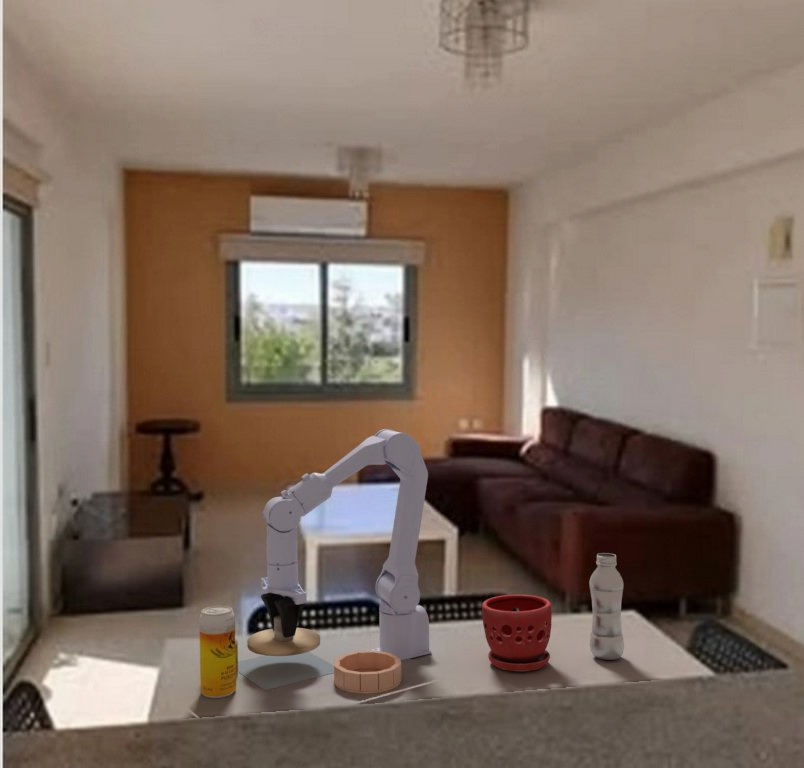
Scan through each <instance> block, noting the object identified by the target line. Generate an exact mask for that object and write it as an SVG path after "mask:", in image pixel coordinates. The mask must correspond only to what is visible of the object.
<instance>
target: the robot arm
mask: <svg viewBox="0 0 804 768" xmlns="http://www.w3.org/2000/svg"><path fill="white" fill-rule="evenodd" d="M421 449H422V447H421V445H420V444H419V443H418V441H416V440H415V439H414V437H412V435H410V434H408V433H406V432H398V431H396V430H393V429H390V428H384V429H381V430H378V432H376V433H375V434H374V435H371V436H369V437H367V438H366V439H365V440H363V441H362V442H361V443H360V444H358V445H357V446H356V447H355V448H353V450H351V451H349V453H347V454H346V455H345V456H343V457H342V458H341V459H339V460H338V461H337V462H336V463H334V464H333V465H331V466H330V467H329V468H328V469H327V470H325V471H324V472H323V473H319V472H312V473H311V474H308V473H305V474H303V475H302V476H301V479H302V480H300V481H299V482H297V483H296V484H295V485H293V486H292V487H291V488H289V489H287V490H286V489H283V490H282V491H281V492H280V495H282V496H276V497H273V498H270V499H269V500H267V503H266V504H265V506H264V508H263V511H262V512H261V513H262V518H263V520H264V521H265V523H267V524H266V535H267V536H266V568H267V570H266V572H267V576H266V577H261V578H260V589H261V591H262V593H263V594H261V595H260V598H261V600H262V602H263V604H264V605H265V607H266V610H267V613H268V617H269V621H270V624H271V629H273V631H274V617H275V616H278V615H280V619H281V626H282V633H283V636H284V637H285V638H287V637H291V636H295V633H296V628H298V622H299V618H300V616H301V613H302V611H303V609H304V607H305V605H306V603H307V592H306V591H304V590H303V587H301V585H300V583H299V565H298V564H299V561H298V559H299V558H298V555H299V554H298V536H297V527H298V526H299V524H300V521H301V518H302V517H305V516H307V515H308V514H309V513H310V512H312V511H313V510H314V509H316V508H317V507H319V506H320V505H322V504H323V503H324V502H326V501H327V500H329V499H330V498H331V496H332V493H333V488H335V487H336V486H337V485H339V484H341V483H342V482H344V481H346V480H347V479H348V478H350V477H352V476H353V475H355V474H356V473H357V472H359V471H361V470H362V469H363V468H365V467H366V466H373V465H374V466H376V465H378V466H379V465H380V466H382V465H386V464H387V465H388V466H390V468H391V469H392V471H393V472H394V473H395V474H396V475H397V476H398V478H399V479H400V480H399V481H400V482H399V487H398V495H397V499H396V508H395V512H394V513H395V514H394V521H393V525H392V526H393V527H392V531H391V532H392V533H391V539H390V546H389V552H388V553H389V554H388V557H387V559H386V560H385V561H384V563H383V564H382V570H381V573H380V574H379V576H378V577H377V579H376V582H375V594H376V595H377V597H378V598H379V599H380V604H379V607H378V609H379V613H378V614H379V647H375V648H372V649H370V651H381V652H388V653H391V654H394V655H396V656H398V657H399V658H400V660H401V661H404V660H408V659H414V658H417V657H421V656H422V657H423V656H425V655H429V654H432V653H433V652H432V650H431V649H430V621H429V620H430V619H429V615H428V613H427V611H426V609H425V608H424V607H423V606H422V605H420V604H419V603H420V599H421V592H420V588H419V572H418V570H417V566H416V557H417V550H418V544H419V537H420V533H421V532H420V531H421V524H422V518H423V511H424V505H425V498H426V492H427V484H428V478H429V472H428V468H427V466H426V462H425V461H424V459H423V455H422V453H421V452H422V451H421Z"/></svg>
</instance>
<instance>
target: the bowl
mask: <svg viewBox="0 0 804 768" xmlns="http://www.w3.org/2000/svg"><path fill="white" fill-rule="evenodd" d="M333 665H334V673H333V678H334V680H333V681H334V685H335V687H337V688H338V689H340V690H342V691H345V692H348V693H353V694H354V693H355V694H378V693H383V692H386V691H390V690H394V689H395V688H397V687H398V686H399V685H400V684H401V682H402V660H400V658H399V657H398V656H396V655H394V654H391V653H388V652H381V651H371V650H358V651H352V652H349V653H348V652H347V653H344V654H341V655H340V656H339V657H336V658H335V659H334V660H333Z"/></svg>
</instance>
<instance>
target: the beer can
mask: <svg viewBox="0 0 804 768" xmlns="http://www.w3.org/2000/svg"><path fill="white" fill-rule="evenodd" d="M235 615H236V614H235V613H234V610H233V608H232V607H231V606H228V605H213V606H212V605H211V606H207V607H204V608H203V609H201V613H200V615H199V619H198V621H199V622H198V623H199V625H198V627H199V665H200V666H199V668H200V675H199V676H200V677H199V678H200V693H201V694H202V696H204V697H206V698H208V699H222V698H227V697H230V696H232V695H233V694H234V693H235V691H236V690H237V677H236V654H235V636H236V619H235V618H236V616H235Z"/></svg>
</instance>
